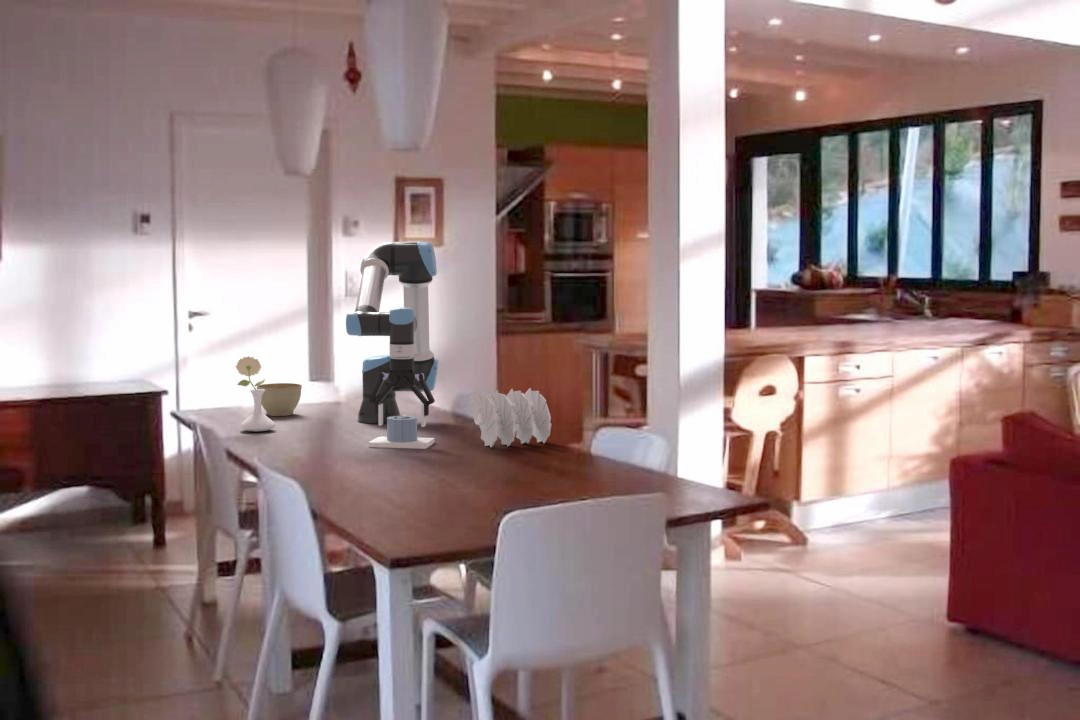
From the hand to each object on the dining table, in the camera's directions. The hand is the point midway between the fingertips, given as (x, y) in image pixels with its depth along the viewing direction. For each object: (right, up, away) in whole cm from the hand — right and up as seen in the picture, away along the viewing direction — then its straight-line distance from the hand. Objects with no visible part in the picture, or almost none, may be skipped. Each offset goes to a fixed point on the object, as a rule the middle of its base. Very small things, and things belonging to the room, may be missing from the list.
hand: (402, 425), depth 369 cm
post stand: (0, -6, 0) cm, 6 cm away
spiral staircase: (+34, -6, +2) cm, 35 cm away
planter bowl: (-53, 0, +67) cm, 86 cm away
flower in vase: (-52, -3, +27) cm, 59 cm away
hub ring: (0, -4, 0) cm, 5 cm away
